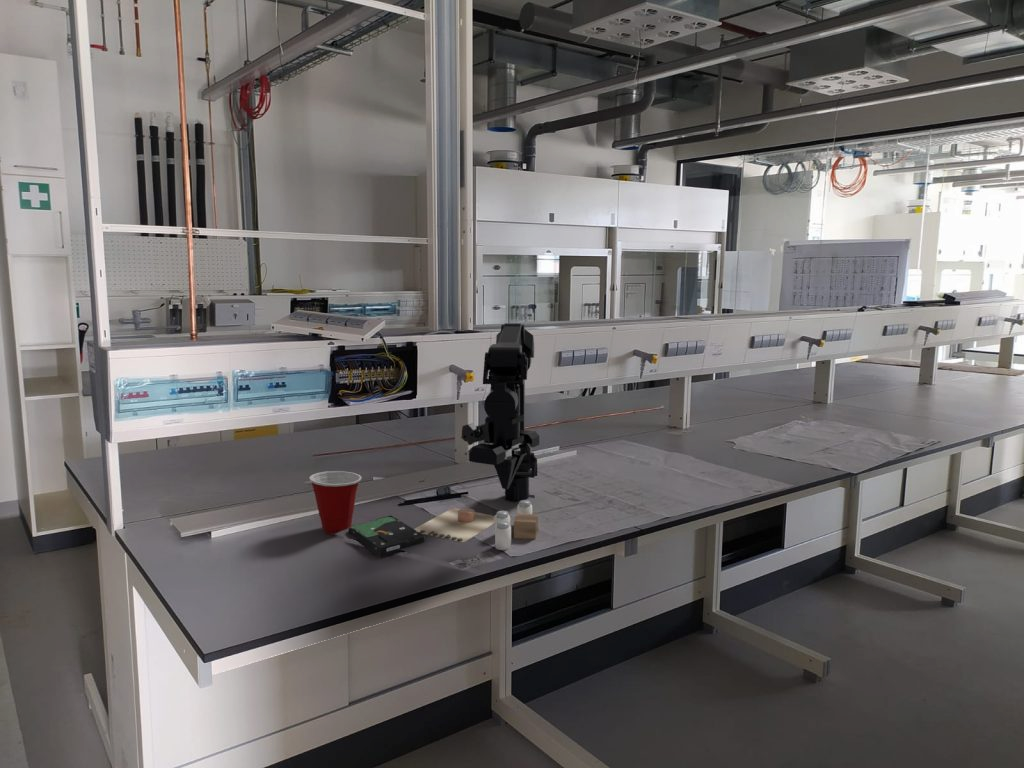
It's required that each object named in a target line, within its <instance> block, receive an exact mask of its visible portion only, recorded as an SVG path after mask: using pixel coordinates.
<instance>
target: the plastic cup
mask: <svg viewBox="0 0 1024 768" xmlns="http://www.w3.org/2000/svg"><path fill="white" fill-rule="evenodd" d="M308 478H309V481H310V483H311V485H312V488H313V493H314V497H315V502H316V506H317V510H318V515H319V518H320V522H321V528H322V530H323V532H324V533H326V534H329V535H335V534H337V533H339V532H341V531H344V530H347V529H348V530H349V528H350V527H351V525H353V523H352V522H353V516H354V515H353V514H354V513H355V503H356V498H357V497H356V496H357V491H358V488H359V483H360V482H361V480H362V476H361V475H360V474H359V473H358V474H357V473H355V472H352V471H351V472H350V471H342V470H331V471H329V470H328V471H321V472H315V473H314V474H311V475H310V476H309V477H308Z"/></svg>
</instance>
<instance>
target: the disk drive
mask: <svg viewBox="0 0 1024 768" xmlns="http://www.w3.org/2000/svg"><path fill="white" fill-rule="evenodd" d="M414 529H415V528H413V527H411V526H409V525H408V524H406V523H405V522H403V521H401V520H399V519H398V518H397V517H395V516H393V515H388V516H387V515H386V516H383V517H378V518H375V519H374V518H373V519H369V521H366V522H361V523H358V524H352V525H351V527H349V528H348V533H350V534H351V535H352V536H354V537H355V538H353V540H355V541H356V542H357V543H359V544H361V545H362V546H363V547H365V548H366V549H367V550H368V551H369V552H371V553H372V554H373V555H375V556H377V557H379V559H382V558H385V557H389V556H392V555H397V554H400V553H404V552H405V550H402V549H404V548H408V547H412V546H415V545H419V544H422V543H425V542H426V537H425V534H422V533H420V532H418V531H416V530H414Z"/></svg>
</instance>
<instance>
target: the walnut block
mask: <svg viewBox="0 0 1024 768" xmlns="http://www.w3.org/2000/svg"><path fill="white" fill-rule="evenodd" d="M538 534H539V514H537V513H532V514H518V513H517V512H516V515H515V518H514V520H513V537H514V539H525V540H526V539H529V540H537V536H538Z"/></svg>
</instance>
